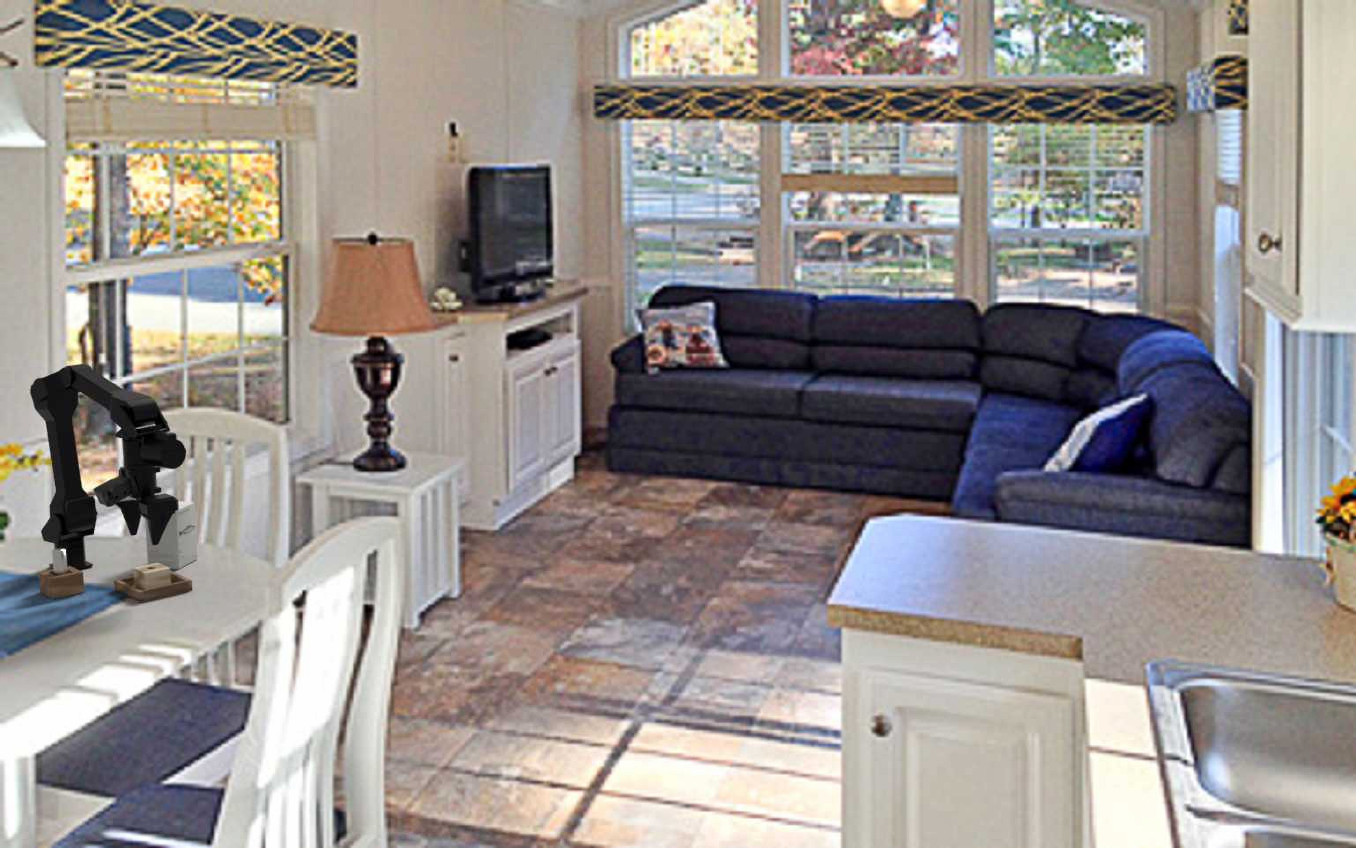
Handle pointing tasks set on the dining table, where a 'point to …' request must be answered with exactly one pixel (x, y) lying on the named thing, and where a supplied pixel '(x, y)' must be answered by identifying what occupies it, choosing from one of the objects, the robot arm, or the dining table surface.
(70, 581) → the brown square socket
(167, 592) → the tray
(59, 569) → the cylinder
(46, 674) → the dining table surface
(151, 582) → the maple block
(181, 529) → the supplement box
